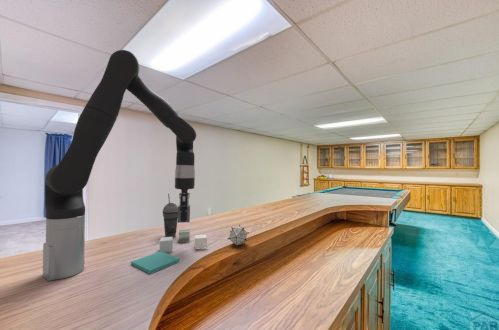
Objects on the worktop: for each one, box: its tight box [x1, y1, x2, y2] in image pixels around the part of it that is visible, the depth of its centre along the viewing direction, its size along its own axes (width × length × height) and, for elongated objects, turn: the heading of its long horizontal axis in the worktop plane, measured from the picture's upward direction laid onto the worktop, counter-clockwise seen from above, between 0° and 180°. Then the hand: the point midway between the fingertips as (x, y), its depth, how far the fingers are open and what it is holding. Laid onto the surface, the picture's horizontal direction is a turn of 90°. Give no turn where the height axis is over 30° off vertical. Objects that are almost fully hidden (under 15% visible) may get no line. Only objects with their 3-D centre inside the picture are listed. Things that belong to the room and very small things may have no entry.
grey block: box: [158, 236, 174, 253], centre depth 86 cm, size 4×4×4 cm
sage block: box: [178, 228, 191, 243], centre depth 98 cm, size 4×4×4 cm
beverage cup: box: [162, 193, 178, 239], centre depth 103 cm, size 7×7×20 cm
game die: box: [227, 224, 250, 248], centre depth 93 cm, size 9×8×10 cm
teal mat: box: [130, 251, 181, 275], centre depth 75 cm, size 11×11×1 cm
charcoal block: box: [177, 204, 191, 224], centre depth 88 cm, size 4×4×6 cm
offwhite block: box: [194, 234, 208, 250], centre depth 90 cm, size 4×4×4 cm
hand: (183, 219), depth 88 cm, fingers closed on charcoal block, 4 cm apart
